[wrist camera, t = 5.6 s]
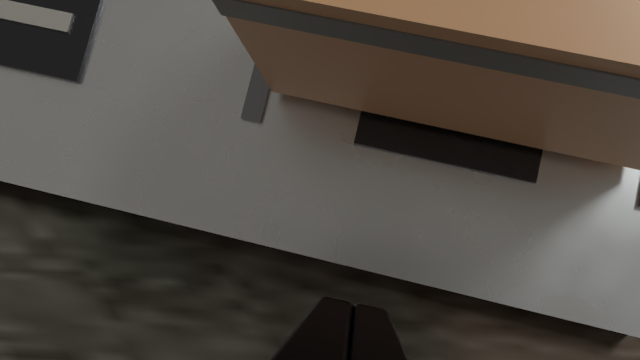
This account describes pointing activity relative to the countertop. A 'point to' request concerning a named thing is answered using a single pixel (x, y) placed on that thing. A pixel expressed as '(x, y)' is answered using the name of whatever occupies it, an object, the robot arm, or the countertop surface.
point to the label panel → (303, 163)
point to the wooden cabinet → (462, 65)
